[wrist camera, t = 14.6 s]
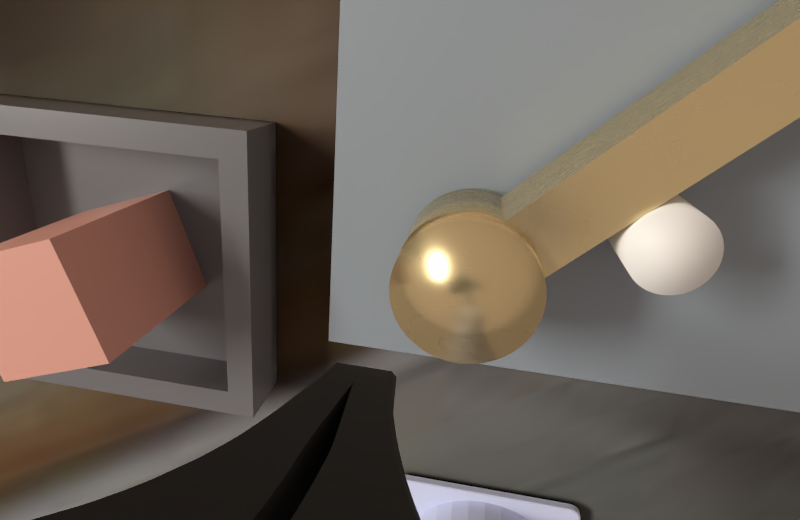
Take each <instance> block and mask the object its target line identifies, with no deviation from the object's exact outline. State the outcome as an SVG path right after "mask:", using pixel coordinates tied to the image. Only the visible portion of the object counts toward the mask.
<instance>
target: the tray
mask: <svg viewBox="0 0 800 520" xmlns="http://www.w3.org/2000/svg"><path fill="white" fill-rule="evenodd" d="M166 190H169V192H170V194H171V197H172V199H173V202H174V204H175V207H176V209H177V212H178V214H179V217H180V219H181V222H182V225H183V227H184V230H185V232H186V235H187V237H188V240H189V242H190V245H191V247H192V250H193V252H194V255H195V257H196V260H197V262H198V265H199V267H200V270H201V272H202V275H203V277H204V280H205V282H206V285H207V286H206V287H204V288H203V289H202V290H201V291H199V292H198V293H197V294H196V295H194V296H193V297H192V298H191V299H189V300H188V301H187V302H186V303H184V304H183V305H182V306H181V307H179V308H178V309H177V310H176V311H174V312H173V313H172V314H171V315H169V316H168V317H167V318H166V319H164V320H163V321H162V322H161V323H159V324H158V325H157V326H156V327H154V328H153V329H152V330H151V331H149V332H148V333H147V334H146V335H144V336H143V337H142V338H141V339H139V340H138V341H137V342H136V343H134V344H133V345H132V346H131V347H129V348H128V349H127V350H126V351H124V352H123V353H122V354H121V355H119V356H118V357H117V358H116V359H114V360H113V361H112V362H111V363H109V364H104V365H98V366H93V367H87V368H81V369H75V370H70V371H64V372H58V373H53V374H47V375H41V376H35V377H30V378H26V379H32V380H38V381H44V382H50V383H55V384H61V385H67V386H73V387H79V388H84V389H90V390H96V391H102V392H108V393H113V394H119V395H125V396H131V397H137V398H143V399H148V400H154V401H160V402H166V403H172V404H177V405H183V406H189V407H195V408H201V409H206V410H212V411H218V412H224V413H230V414H235V415H241V416H247V417H254V416H255V414H256V413H257V411H258V410H259V408H260V407H261V405H262V404H263V402H264V401H265V399H266V398H267V396H268V395H269V393H270V392H271V390H272V389H273V387H274V386H275V384H276V383H277V304H276V122H269V121H259V120H249V119H240V118H230V117H220V116H211V115H201V114H191V113H182V112H172V111H162V110H152V109H143V108H133V107H123V106H114V105H104V104H94V103H85V102H75V101H65V100H56V99H46V98H36V97H27V96H17V95H7V94H0V243H2V242H4V241H7V240H10V239H12V238H15V237H18V236H20V235H23V234H26V233H28V232H31V231H33V230H36V229H39V228H41V227H44V226H47V225H49V224H52V223H55V222H57V221H60V220H62V219H65V218H68V217H70V216H73V215H76V214H78V213H81V212H84V211H88V210H92V209H96V208H100V207H104V206H108V205H112V204H115V203H119V202H123V201H127V200H131V199H135V198H139V197H143V196H147V195H151V194H154V193H158V192H162V191H166Z"/></svg>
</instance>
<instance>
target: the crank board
mask: <svg viewBox="0 0 800 520" xmlns="http://www.w3.org/2000/svg"><path fill="white" fill-rule="evenodd" d="M776 1H778V0H340V27H339V56H338V85H337V113H336V142H335V170H334V199H333V228H332V256H331V285H330V313H329V341H332V342H339V343H345V344H352V345H358V346H365V347H372V348H378V349H385V350H391V351H398V352H405V353H411V354H418V355H424V356H431V357H435V356H433V355H431V354H429V353H427V352H425V351H424V350H422V349H421V348H419V347H418V346H417V345H416V344H414V343H413V342H412V341H411V340H410V339H409V338H408V337H407V336H406V335H405V333H404V332H403V331H402V329H401V328H400V326H399V324H398V323H397V321H396V319H395V317H394V314H393V312H392V308H391V304H390V298H389V282H390V276H391V272H392V269H393V266H394V264H395V262H396V260H397V258H398V255H399V253H400V251H401V249H402V247H403V245H404V243H405V241H406V239H407V237H408V234H409V232H410V230H411V228H412V226H413V224H414V222H415V220H416V218H417V217H418V215H419V214H420V212H421V211H422V210H423V209H424V208H425V207H426V206H427V205H428V204H429V203H431V202H432V201H433V200H435V199H436V198H438V197H439V196H442V195H444V194H446V193H448V192H452V191H455V190H460V189H469V188H475V189H484V190H489V191H492V192H495V193H498V194H500V195H502V196H503V195H505V194H506V193H507V192H509V191H510V190H512V189H513V188H514V187H516V186H517V185H519V184H520V183H521V182H523V181H524V180H526V179H527V178H529V177H530V176H531V175H533V174H534V173H536V172H537V171H538V170H540V169H541V168H543V167H544V166H545V165H547V164H548V163H550V162H551V161H552V160H554V159H555V158H557V157H558V156H559V155H561V154H562V153H564V152H565V151H567V150H568V149H569V148H571V147H572V146H574V145H575V144H576V143H578V142H579V141H581V140H582V139H583V138H585V137H586V136H588V135H589V134H590V133H592V132H593V131H595V130H596V129H597V128H599V127H600V126H602V125H603V124H604V123H606V122H607V121H609V120H610V119H612V118H613V117H614V116H616V115H617V114H619V113H620V112H621V111H623V110H624V109H626V108H627V107H628V106H630V105H631V104H633V103H634V102H635V101H637V100H638V99H640V98H641V97H642V96H644V95H645V94H647V93H648V92H650V91H651V90H652V89H654V88H655V87H657V86H658V85H659V84H661V83H662V82H664V81H665V80H666V79H668V78H669V77H671V76H672V75H673V74H675V73H676V72H678V71H679V70H680V69H682V68H683V67H685V66H686V65H688V64H689V63H690V62H692V61H693V60H695V59H696V58H697V57H699V56H700V55H702V54H703V53H704V52H706V51H707V50H709V49H710V48H711V47H713V46H714V45H716V44H717V43H718V42H720V41H721V40H723V39H724V38H725V37H727V36H728V35H730V34H731V33H733V32H734V31H735V30H737V29H738V28H740V27H741V26H742V25H744V24H745V23H747V22H748V21H749V20H751V19H752V18H754V17H755V16H756V15H758V14H759V13H761V12H762V11H763V10H765V9H766V8H768V7H769V6H771V5H772V4H773V3H775V2H776ZM545 282H546V289H547V299H546V306H545V310H544V314H543V317H542V319H541V322H540V324H539V326H538V327H537V329H536V330H535V332H534V334H533V335H532V336H531V337H530V338H529V339H528V341H527V342H525V343H524V344H523V345H522V346H521V347H520V348H518V349H517V350H515V351H514V352H512V353H511V354H509V355H507V356H505V357H503V358H500V359H497V360H494V361H490V362H486V363H478V364H484V365H490V366H497V367H503V368H510V369H517V370H523V371H530V372H536V373H543V374H549V375H556V376H563V377H569V378H576V379H582V380H589V381H596V382H602V383H609V384H615V385H622V386H628V387H635V388H642V389H648V390H655V391H661V392H668V393H675V394H681V395H688V396H694V397H701V398H708V399H714V400H721V401H727V402H734V403H740V404H747V405H754V406H760V407H767V408H773V409H780V410H787V411H793V412H800V118H798V119H797V120H795V121H793V122H792V123H790V124H789V125H787V126H785V127H784V128H782V129H781V130H779V131H778V132H776V133H774V134H773V135H771V136H770V137H768V138H766V139H765V140H763V141H762V142H760V143H758V144H757V145H755V146H754V147H752V148H751V149H749V150H747V151H746V152H744V153H743V154H741V155H739V156H738V157H736V158H735V159H733V160H731V161H730V162H728V163H727V164H725V165H724V166H722V167H720V168H719V169H717V170H716V171H714V172H712V173H711V174H709V175H708V176H706V177H705V178H703V179H701V180H700V181H698V182H697V183H695V184H693V185H692V186H690V187H689V188H687V189H685V190H684V191H682V192H681V193H679V194H678V195H676V196H674V197H673V198H671V199H670V200H668V201H666V202H665V203H663V204H662V205H660V206H658V207H657V208H655V209H654V210H652V211H651V212H649V213H647V214H645V215H644V216H643V217H641V218H639V219H638V220H636V221H635V222H633V223H631V224H630V225H628V226H627V227H625V228H624V229H622V230H620V231H619V232H617V233H616V234H614V235H612V236H611V237H609V238H608V239H606V240H604V241H603V242H601V243H600V244H598V245H597V246H595V247H593V248H592V249H590V250H589V251H587V252H585V253H584V254H582V255H581V256H579V257H577V258H576V259H574V260H573V261H571V262H570V263H568V264H566V265H565V266H563V267H562V268H560V269H558V270H557V271H555V272H554V273H552V274H550V275H549V276H547V277H546V278H545Z"/></svg>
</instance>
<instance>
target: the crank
mask: <svg viewBox="0 0 800 520" xmlns="http://www.w3.org/2000/svg"><path fill="white" fill-rule="evenodd" d="M798 118H800V0H778V1H776V2H775V3H773V4H772V5H771V6H769V7H768V8H766V9H765V10H763V11H762V12H761V13H759V14H758V15H756V16H755V17H754V18H752V19H751V20H749V21H748V22H747V23H745V24H744V25H742V26H741V27H740V28H738V29H737V30H735V31H734V32H733V33H731V34H730V35H728V36H727V37H725V38H724V39H723V40H721V41H720V42H718V43H717V44H716V45H714V46H713V47H711V48H710V49H709V50H707V51H706V52H704V53H703V54H702V55H700V56H699V57H697V58H696V59H695V60H693V61H692V62H690V63H689V64H688V65H686V66H685V67H683V68H682V69H680V70H679V71H678V72H676V73H675V74H673V75H672V76H671V77H669V78H668V79H666V80H665V81H664V82H662V83H661V84H659V85H658V86H657V87H655V88H654V89H652V90H651V91H650V92H648V93H647V94H645V95H644V96H642V97H641V98H640V99H638V100H637V101H635V102H634V103H633V104H631V105H630V106H628V107H627V108H626V109H624V110H623V111H621V112H620V113H619V114H617V115H616V116H614V117H613V118H612V119H610V120H609V121H607V122H606V123H604V124H603V125H602V126H600V127H599V128H597V129H596V130H595V131H593V132H592V133H590V134H589V135H588V136H586V137H585V138H583V139H582V140H581V141H579V142H578V143H576V144H575V145H574V146H572V147H571V148H569V149H568V150H567V151H565V152H564V153H562V154H561V155H559V156H558V157H557V158H555V159H554V160H552V161H551V162H550V163H548V164H547V165H545V166H544V167H543V168H541V169H540V170H538V171H537V172H536V173H534V174H533V175H531V176H530V177H529V178H527V179H526V180H524V181H523V182H521V183H520V184H519V185H517V186H516V187H514V188H513V189H512V190H510V191H509V192H507V193H506V194H505V195H503V196H502V195H500V194H498V193H495V192H492V191H489V190H484V189H475V188H469V189H460V190H455V191H452V192H448V193H446V194H444V195H442V196H439V197H438V198H436V199H435V200H433V201H432V202H431V203H429V204H428V205H427V206H426V207H425V208H424V209H423V210H422V211H421V212H420V214H419V215H418V217H417V218H416V220H415V222H414V224H413V226H412V228H411V230H410V232H409V234H408V237H407V239H406V241H405V243H404V245H403V247H402V249H401V251H400V253H399V255H398V258H397V260H396V262H395V264H394V266H393V269H392V272H391V276H390V282H389V298H390V304H391V308H392V312H393V314H394V317H395V319H396V321H397V323H398V324H399V326H400V328H401V329H402V331H403V332H404V333H405V335H406V336H407V337H408V338H409V339H410V340H411V341H412V342H413V343H414V344H416V345H417V346H418V347H419V348H421V349H422V350H424V351H425V352H427V353H429V354H431V355H433V356H435V357H437V358H440V359H443V360H446V361H450V362H454V363H462V364H478V363H486V362H490V361H494V360H497V359H500V358H503V357H505V356H507V355H509V354H511V353H512V352H514V351H515V350H517V349H518V348H520V347H521V346H522V345H523V344H524V343H525V342H527V341H528V339H529V338H530V337H531V336H532V335H533V334H534V332H535V330H536V329H537V327H538V326H539V324H540V322H541V319H542V317H543V314H544V310H545V306H546V299H547V289H546V282H545V278H546V277H547V276H549V275H550V274H552V273H554V272H555V271H557V270H558V269H560V268H562V267H563V266H565V265H566V264H568V263H570V262H571V261H573V260H574V259H576V258H577V257H579V256H581V255H582V254H584V253H585V252H587V251H589V250H590V249H592V248H593V247H595V246H597V245H598V244H600V243H601V242H603V241H604V240H606V239H608V238H609V237H611V236H612V235H614V234H616V233H617V232H619V231H620V230H622V229H624V228H625V227H627V226H628V225H630V224H631V223H633V222H635V221H636V220H638V219H639V218H641V217H643V216H644V215H645V214H647V213H649V212H651V211H652V210H654V209H655V208H657V207H658V206H660V205H662V204H663V203H665V202H666V201H668V200H670V199H671V198H673V197H674V196H676V195H678V194H679V193H681V192H682V191H684V190H685V189H687V188H689V187H690V186H692V185H693V184H695V183H697V182H698V181H700V180H701V179H703V178H705V177H706V176H708V175H709V174H711V173H712V172H714V171H716V170H717V169H719V168H720V167H722V166H724V165H725V164H727V163H728V162H730V161H731V160H733V159H735V158H736V157H738V156H739V155H741V154H743V153H744V152H746V151H747V150H749V149H751V148H752V147H754V146H755V145H757V144H758V143H760V142H762V141H763V140H765V139H766V138H768V137H770V136H771V135H773V134H774V133H776V132H778V131H779V130H781V129H782V128H784V127H785V126H787V125H789V124H790V123H792V122H793V121H795V120H797V119H798Z"/></svg>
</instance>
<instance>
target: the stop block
mask: <svg viewBox="0 0 800 520" xmlns="http://www.w3.org/2000/svg"><path fill="white" fill-rule="evenodd" d="M206 286H207V285H206V282H205V280H204V277H203V275H202V272H201V270H200V267H199V265H198V262H197V260H196V257H195V255H194V252H193V250H192V247H191V245H190V242H189V240H188V237H187V235H186V232H185V230H184V227H183V225H182V222H181V219H180V217H179V214H178V212H177V209H176V207H175V204H174V202H173V199H172V197H171V194H170V192H169V190H166V191H162V192H158V193H154V194H151V195H147V196H143V197H139V198H135V199H131V200H127V201H123V202H119V203H115V204H112V205H108V206H104V207H100V208H96V209H92V210H88V211H84V212H81V213H78V214H76V215H73V216H70V217H68V218H65V219H62V220H60V221H57V222H55V223H52V224H49V225H47V226H44V227H41V228H39V229H36V230H33V231H31V232H28V233H26V234H23V235H20V236H18V237H15V238H12V239H10V240H7V241H4V242H2V243H0V375H1V377H2V379H3V380H4V382H7V381H12V380H18V379H24V378H30V377H35V376H41V375H47V374H53V373H58V372H64V371H70V370H75V369H81V368H87V367H93V366H98V365H104V364H109V363H111V362H112V361H113V360H114V359H116V358H117V357H118V356H119V355H121V354H122V353H123V352H124V351H126V350H127V349H128V348H129V347H131V346H132V345H133V344H134V343H136V342H137V341H138V340H139V339H141V338H142V337H143V336H144V335H146V334H147V333H148V332H149V331H151V330H152V329H153V328H154V327H156V326H157V325H158V324H159V323H161V322H162V321H163V320H164V319H166V318H167V317H168V316H169V315H171V314H172V313H173V312H174V311H176V310H177V309H178V308H179V307H181V306H182V305H183V304H184V303H186V302H187V301H188V300H189V299H191V298H192V297H193V296H194V295H196V294H197V293H198V292H199V291H201V290H202V289H203V288H204V287H206Z"/></svg>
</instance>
